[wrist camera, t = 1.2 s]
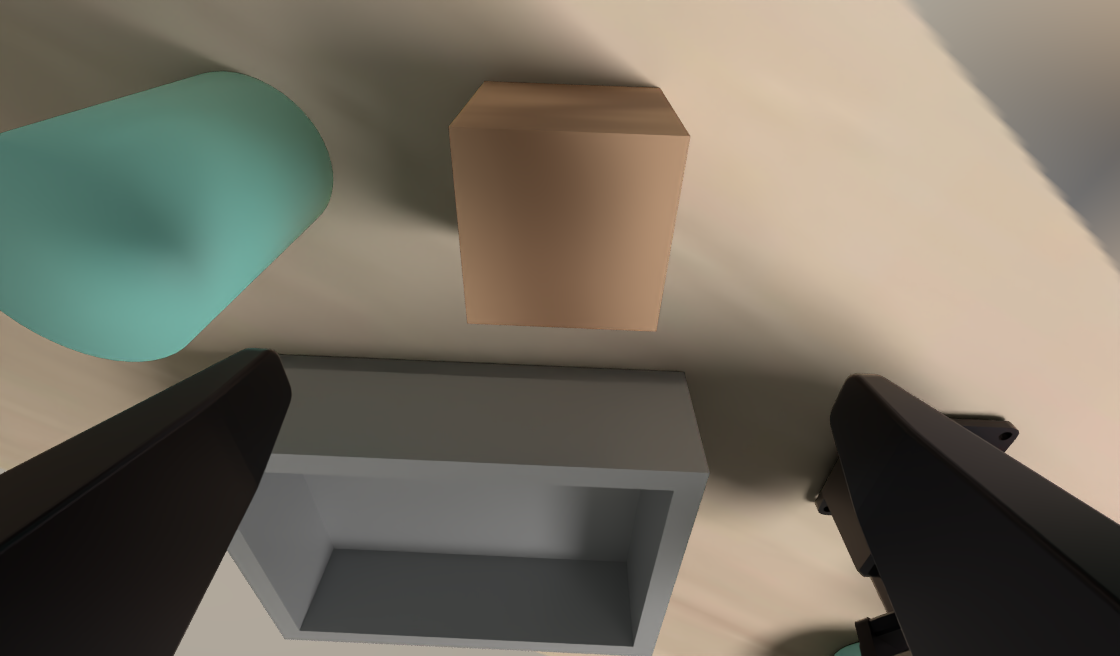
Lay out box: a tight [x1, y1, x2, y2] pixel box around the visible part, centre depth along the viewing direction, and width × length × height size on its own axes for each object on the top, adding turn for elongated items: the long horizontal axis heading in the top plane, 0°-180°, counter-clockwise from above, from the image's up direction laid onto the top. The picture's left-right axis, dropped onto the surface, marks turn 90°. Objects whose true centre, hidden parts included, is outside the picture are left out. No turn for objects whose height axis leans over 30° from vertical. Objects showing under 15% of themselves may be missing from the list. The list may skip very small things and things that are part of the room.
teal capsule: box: [0, 71, 333, 362], centre depth 13 cm, size 5×5×7 cm
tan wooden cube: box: [448, 81, 690, 331], centre depth 14 cm, size 5×5×5 cm
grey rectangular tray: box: [227, 355, 710, 656], centre depth 23 cm, size 18×14×5 cm
